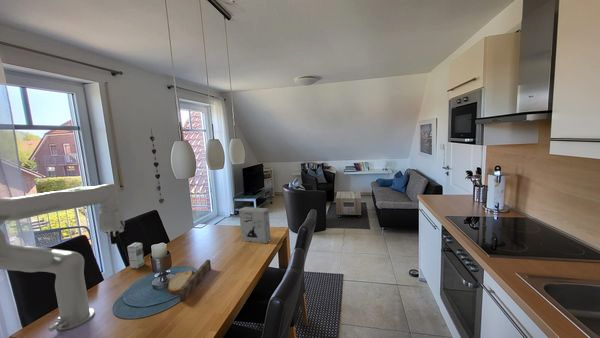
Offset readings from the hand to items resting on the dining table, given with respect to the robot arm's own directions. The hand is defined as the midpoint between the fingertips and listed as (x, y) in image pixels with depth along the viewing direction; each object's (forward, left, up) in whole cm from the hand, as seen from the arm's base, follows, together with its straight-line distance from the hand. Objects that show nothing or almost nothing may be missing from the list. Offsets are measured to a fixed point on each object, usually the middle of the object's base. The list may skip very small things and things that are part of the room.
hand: (115, 243), depth 127 cm
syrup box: (+28, +13, -27) cm, 41 cm away
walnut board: (+8, -37, -27) cm, 47 cm away
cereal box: (+65, -55, -27) cm, 89 cm away
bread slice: (+9, -28, -28) cm, 40 cm away
